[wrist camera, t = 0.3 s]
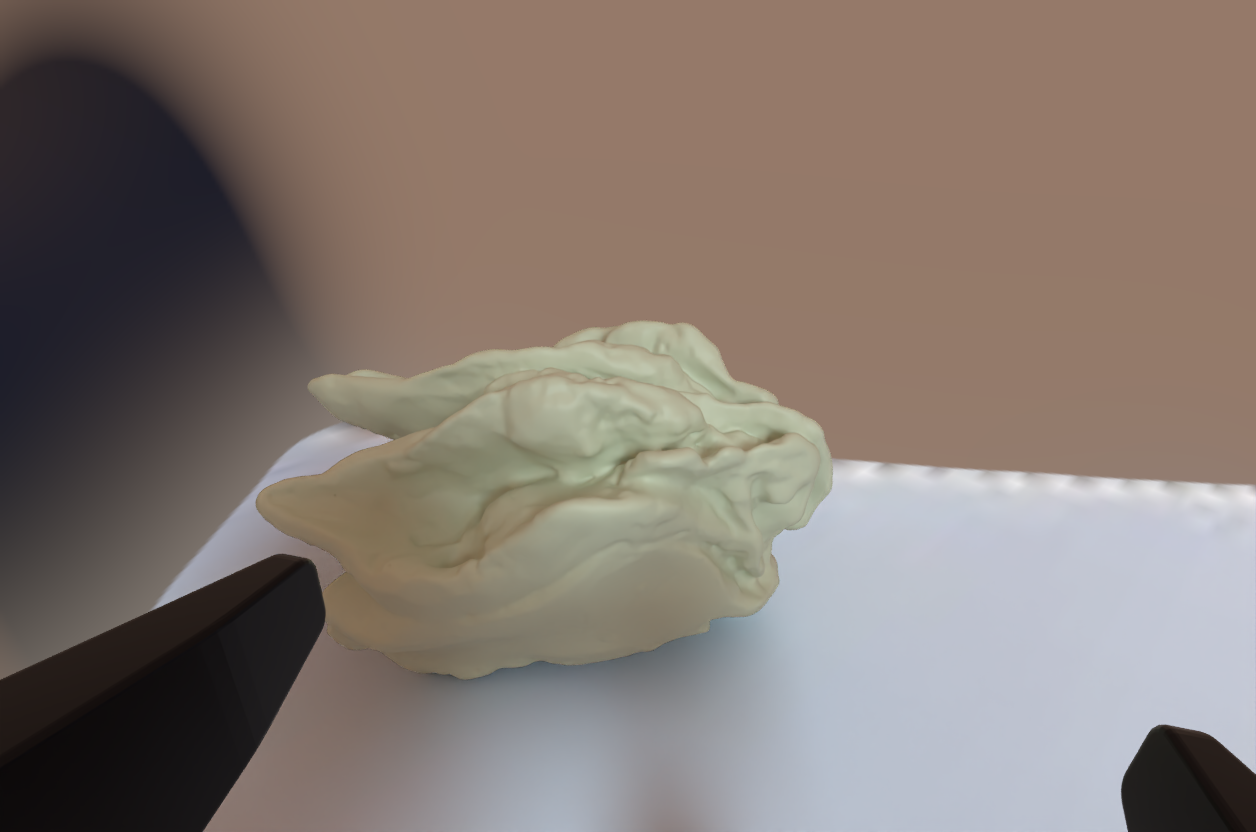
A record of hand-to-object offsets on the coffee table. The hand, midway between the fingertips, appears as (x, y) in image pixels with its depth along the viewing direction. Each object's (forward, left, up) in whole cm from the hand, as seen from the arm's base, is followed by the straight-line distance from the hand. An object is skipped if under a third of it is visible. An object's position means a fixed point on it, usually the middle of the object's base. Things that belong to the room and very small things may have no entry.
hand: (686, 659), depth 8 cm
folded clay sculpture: (+14, +6, -17) cm, 23 cm away
